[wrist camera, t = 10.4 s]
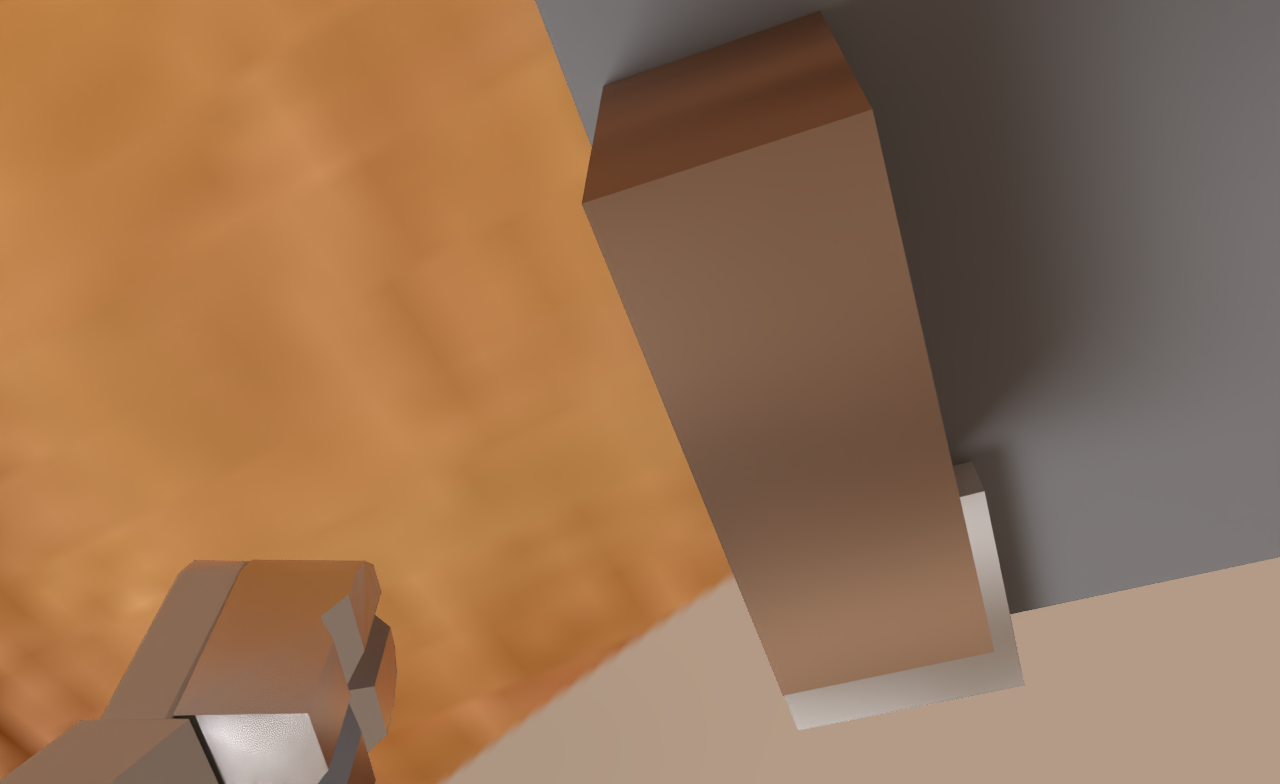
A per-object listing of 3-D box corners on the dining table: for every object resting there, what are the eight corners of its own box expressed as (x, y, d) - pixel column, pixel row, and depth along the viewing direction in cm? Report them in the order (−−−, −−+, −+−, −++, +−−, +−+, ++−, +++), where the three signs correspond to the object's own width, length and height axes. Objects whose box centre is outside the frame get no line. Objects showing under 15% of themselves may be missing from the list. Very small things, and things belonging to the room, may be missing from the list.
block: (555, 102, 14) (519, 224, 10) (873, -9, 13) (945, 85, 9) (793, 697, 20) (818, 887, 17) (1012, 652, 19) (1083, 843, 16)
